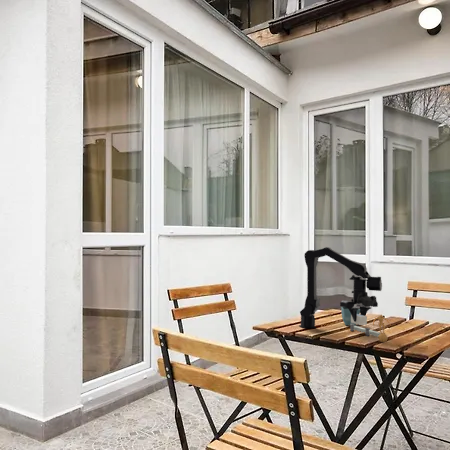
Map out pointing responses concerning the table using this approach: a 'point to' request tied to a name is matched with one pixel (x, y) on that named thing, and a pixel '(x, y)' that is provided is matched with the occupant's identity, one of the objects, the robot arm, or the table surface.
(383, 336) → the figurine
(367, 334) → the rail
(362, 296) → the robot arm
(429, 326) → the table surface
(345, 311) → the flower pot
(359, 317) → the cream rectangular block
